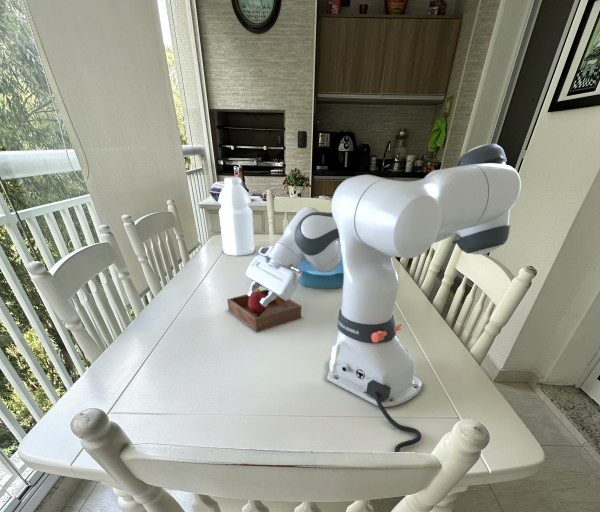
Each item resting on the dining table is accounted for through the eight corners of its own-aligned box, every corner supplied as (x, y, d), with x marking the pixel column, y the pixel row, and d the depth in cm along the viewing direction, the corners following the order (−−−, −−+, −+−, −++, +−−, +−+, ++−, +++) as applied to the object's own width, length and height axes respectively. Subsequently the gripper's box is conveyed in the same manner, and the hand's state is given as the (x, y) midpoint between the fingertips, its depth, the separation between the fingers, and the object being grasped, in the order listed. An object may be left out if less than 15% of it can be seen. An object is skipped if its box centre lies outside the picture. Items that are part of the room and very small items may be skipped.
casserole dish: (353, 295, 120) (355, 274, 116) (288, 291, 122) (288, 270, 117) (350, 261, 149) (352, 243, 144) (298, 258, 150) (298, 240, 146)
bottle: (252, 256, 151) (248, 180, 134) (220, 255, 151) (211, 179, 134) (256, 247, 162) (252, 175, 145) (226, 246, 162) (218, 175, 145)
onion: (265, 320, 103) (264, 294, 98) (246, 318, 104) (244, 291, 99) (270, 311, 108) (269, 286, 103) (252, 309, 109) (250, 284, 104)
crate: (301, 318, 106) (301, 305, 103) (256, 332, 98) (255, 319, 96) (271, 299, 116) (270, 288, 114) (228, 311, 109) (227, 299, 106)
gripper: (311, 277, 97) (282, 319, 99) (270, 258, 110) (246, 295, 112) (298, 264, 93) (268, 308, 94) (257, 245, 105) (232, 284, 107)
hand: (255, 301), depth 103 cm, fingers closed on onion, 5 cm apart
